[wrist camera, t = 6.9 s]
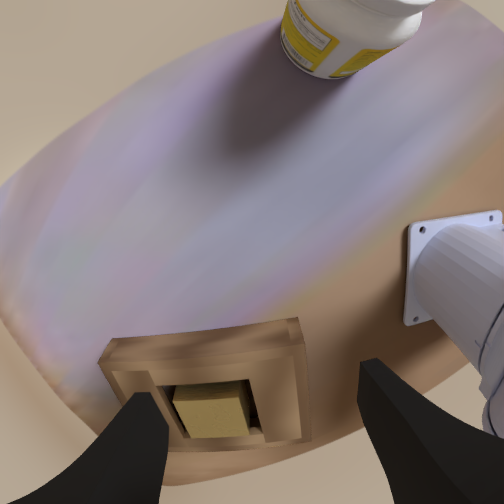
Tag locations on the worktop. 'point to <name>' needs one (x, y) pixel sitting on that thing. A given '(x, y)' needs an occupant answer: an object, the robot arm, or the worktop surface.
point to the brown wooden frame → (221, 378)
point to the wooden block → (214, 409)
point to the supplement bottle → (346, 32)
